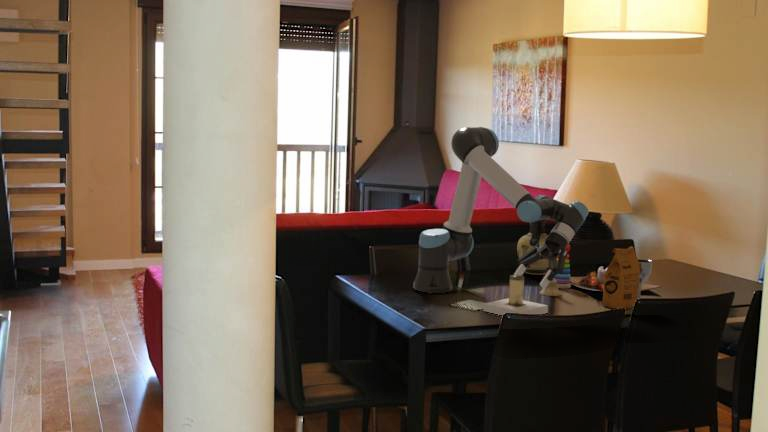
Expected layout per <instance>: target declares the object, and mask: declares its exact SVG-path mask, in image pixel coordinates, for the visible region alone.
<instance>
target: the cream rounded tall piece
mask: <svg viewBox="0 0 768 432" xmlns="http://www.w3.org/2000/svg"><path fill="white" fill-rule="evenodd" d="M547 222H548V219H546V220H539V221H535V222H528V223H529V225H530V228H529V232H528V233H527V234H525V235H523V236H521V237H520V238H519V239H518V241H517V245H516V246H517V247H516V250H517V251H516V252H517V256H518V259H519V258H521V257H522V256H523V255H525V254H526V253H527V252H529V251H530V250H531V249H532V248H534V246H535V245H536V244H539V245H540V246H543V245H544V244H545V240H546V238H547V237H548V235H549V234H547V233H546V232H545V230H546V229H545V228H546V227H545V225H546V223H547ZM540 255H541V253H540ZM525 264H526V263H525ZM525 268H526V270H525V272H524V273H525V274H528V275H533V276H534V275H537V276H540V275H542V276H543V275H546V274H547V272H548V271H547V268H548V269H549V266H548V259H542V260H538V261H536V262H534V263H532V264H531V265H529V266H527V267H525Z"/></svg>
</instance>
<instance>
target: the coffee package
mask: <svg viewBox="0 0 768 432" xmlns="http://www.w3.org/2000/svg"><path fill="white" fill-rule="evenodd" d="M634 248H635V247H634V246H632V245H631V246H629V247H627V248H615V247H614V248H613V249H612V253H614V256H613V258H612V260H611V262H610V264H609V265H608V266H607V268H606V270H605V273H604V275H603V276H604V277H603V293H602V300H601V301H602V304H603V306H604V307H608V308H609V309H614V310H616V309H615V308H621V307H623V308H624V309H633V305H634V303H635V301H636V300H637V299H638V293H639V277H640V270H639V262H638V259H639V258H638V256H637V254H636V252H635V249H634Z"/></svg>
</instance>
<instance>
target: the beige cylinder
mask: <svg viewBox="0 0 768 432" xmlns="http://www.w3.org/2000/svg"><path fill="white" fill-rule="evenodd" d="M508 284H509V287H508V298H509V304H508V305H510V306H515V307H520V306H523V300H524V291H525V276H524V275H522V276H521V275H514V274H511V275H509V283H508Z"/></svg>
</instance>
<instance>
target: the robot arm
mask: <svg viewBox="0 0 768 432" xmlns="http://www.w3.org/2000/svg"><path fill="white" fill-rule="evenodd" d="M450 144H451V149H452V152H453V154H454V155H455V156H456V158H457V159H458V160H460V162H461V163H462V165H461V168H460V172H459V176H458V181H457V184H456V189H455V193H454V196H453V200H452V204H451V209H450V214H449V218H448V220H447V221H445V222H444V223H443V226H442V228H431V229H426V230H423V231H421V233H420V234H419V238H418V239H419V240H418V264H417V265H418V266H417V267H418V269H417V272H416V275H415V277H414V281H413V285H412V289H413V288H414V289H415V290H418V291H423V292H432V293H442V294H445V293H444V292H449V293H451V292H452V290H453V284H452V281H451V277H450V273H449V261H455V260H461V259H464V258H465V257H467V256H468V255H470V254H471V253H472V251H473V248H474V245H475V242H474V238H473V235H472V233H473V228H472V227H471V226H470V225H471V221H472V218H473V213H474V208H475V205H476V201H477V197H478V193H479V190H480V189H479V188H480V186H481V181H482V179H483V180H485V181H486V182H487V184H489V185H490V186H491V187H492V188H493V189H494V190H495V191H496V192H497V193H499V195H500V196H501V197H503V199H505V200H506V201H507V202H508V203H509V204H510V205H511V206H512V207H513V208H514V209H515V210H516V214H517V216H518V218H519V220H520V221H522V222H525V223H529V222H535V221H539V220H546V219H547V220H550V221H553V222H555V223H556V224H555V225H554V227H553V228H552V229H551V231H550V233H549V234H547V235H548V237H547V238H546V240H545V244H544V245H543V246H540V245H539V244H536V245H535V246H534V248H532V249H531V250H530V251H529V252H527V253H526V254H525V255H523V256H522V257H521V258H519V257H518V259H517V262H518V264H519V265H518V266H517V268H516V270H515V272H514V273H513V275H521V276H523V275H524V273H526V272H525V271H526V268H525V267H527V266H529V265H531V264H532V263H534V262H536V261H538V260H542V259H548V260H551V267H552V269H551V270H552V271H551V270H549V269H548V271H546V272H547V273H546V274H544V277H543V279H541V281H540V282H539V285H540V287H541V288H542V289H545V288H546V287H547V285H548V284H549V282H550V281H552V280H553V278H554V277H555V275H557V274H563V270H564V264H565V258H566V256H567V254H569V252H568V253H567V252H566V250H565V248H566V247H567V245H568V243H569V244H570V242H571V240H572V239H573V237H574V236H575V235H576V233H577V232H578V231H579V229H580V228H581V226H582V225H583V224H584V222H585V221H586V219H587V216H588V215H589V213H590V211H589V208H588V207H587V205H585V204H584V203H583V202H581V201H580V200H573V201H571V202H570V203H569V204H568V203H564V202H561V201H559V200H557V199H554V198H552V197H550V196H547V195H543V194H539V195H538V196H536V197H534V195H532V194H531V193H530V192H529V191H528V190H527V189H525V187H524V186H522V184H520V183H519V182H518V181H517V180H516V179H515V178H514V177H513V175H512V176H511V174H510V173H508V171H507V170H505V169H504V168H503V167H502V166H501V165H500V164H499V163H498V162H497V161H496V160H495V159H494V158H492V157H493V156H495V155H496V154H497V152H498V150H499V147H500V145H499V144H500V141H499V138H498V136H497V134H496V133H495V132H494V131H493V130H492V129H491V128H488V127H482V126H478V127H477V126H476V127H475V126H474V127H472V126H471V127H462V128H460V129H458V130H456V132H455V133H454V134H453V135H452V138H451V143H450ZM540 253H541V255H540ZM558 255H559V259H558V264H557V258H558V257H557V256H558ZM525 263H526V264H525ZM415 290H414V291H415ZM450 291H451V292H450Z"/></svg>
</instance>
